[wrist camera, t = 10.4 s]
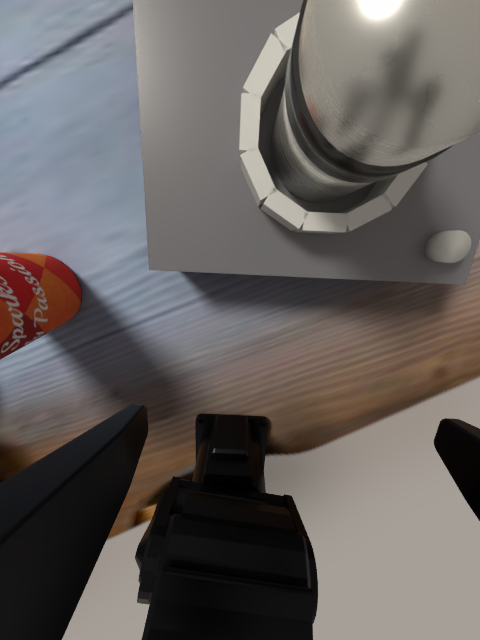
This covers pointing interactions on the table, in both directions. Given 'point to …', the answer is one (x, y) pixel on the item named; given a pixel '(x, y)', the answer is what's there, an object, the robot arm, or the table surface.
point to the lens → (375, 91)
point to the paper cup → (34, 298)
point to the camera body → (257, 166)
